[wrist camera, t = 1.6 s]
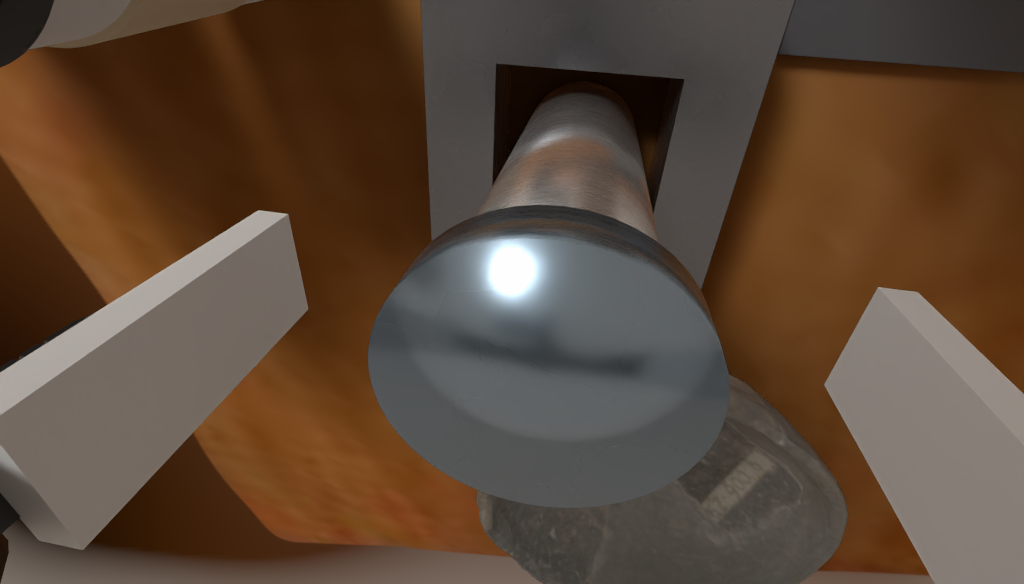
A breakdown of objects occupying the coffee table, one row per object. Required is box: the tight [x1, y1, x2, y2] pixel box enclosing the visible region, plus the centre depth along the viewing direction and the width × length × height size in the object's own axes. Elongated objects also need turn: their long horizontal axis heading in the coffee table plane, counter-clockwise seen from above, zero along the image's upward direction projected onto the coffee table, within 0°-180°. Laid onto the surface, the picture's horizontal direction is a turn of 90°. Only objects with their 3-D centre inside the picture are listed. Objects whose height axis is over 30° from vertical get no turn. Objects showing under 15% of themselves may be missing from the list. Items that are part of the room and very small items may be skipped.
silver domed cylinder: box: [368, 81, 730, 508], centre depth 15 cm, size 6×6×16 cm
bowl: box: [476, 374, 848, 584], centre depth 27 cm, size 18×18×8 cm
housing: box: [421, 0, 794, 289], centre depth 20 cm, size 12×12×4 cm
